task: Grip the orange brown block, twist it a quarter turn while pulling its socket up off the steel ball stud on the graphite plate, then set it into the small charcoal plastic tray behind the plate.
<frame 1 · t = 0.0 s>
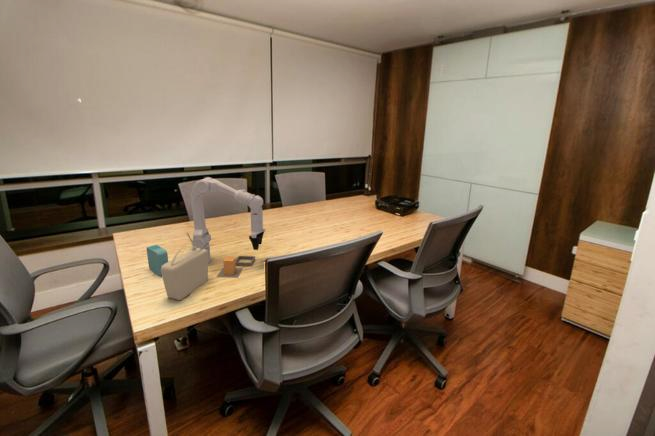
hand: (257, 246, 163), 10 cm above the table, fingers open, 7 cm apart
radio: (187, 289, 140), on the table
data package: (159, 272, 155), on the table
stud plate: (230, 274, 155), on the table
orange brown block: (230, 272, 155), point 1 cm above the table, touching stud plate
tray: (245, 263, 166), on the table
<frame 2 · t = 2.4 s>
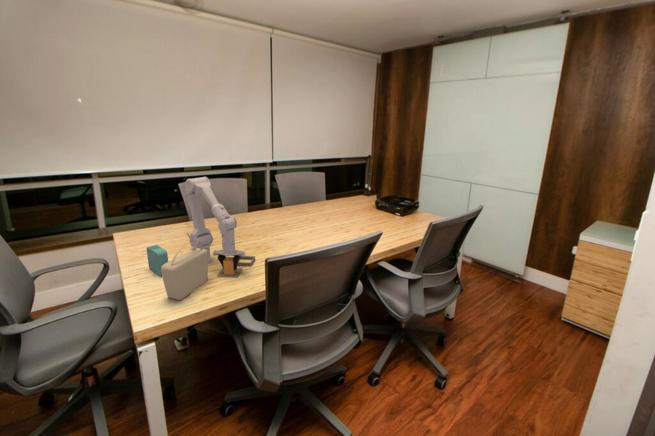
hand: (230, 269, 154), 2 cm above the table, fingers closed on orange brown block, 4 cm apart
orange brown block: (230, 272, 155), point 1 cm above the table, touching gripper, stud plate
everything else where it was.
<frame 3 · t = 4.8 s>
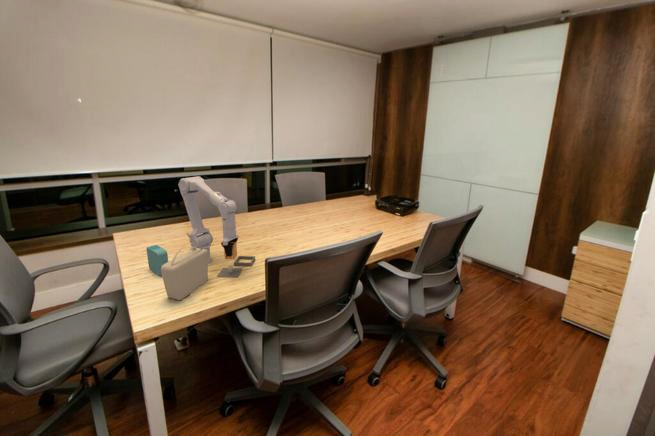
hand: (230, 254, 153), 10 cm above the table, fingers closed on orange brown block, 4 cm apart
orange brown block: (230, 257, 154), point 8 cm above the table, touching gripper
everything else where it was.
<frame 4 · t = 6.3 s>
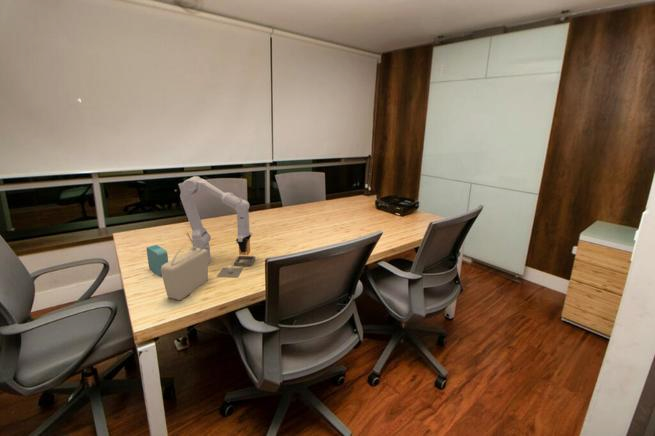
hand: (244, 250, 164), 8 cm above the table, fingers closed on orange brown block, 4 cm apart
orange brown block: (244, 253, 165), point 6 cm above the table, touching gripper
everything else where it was.
when the fingers open (4 cm above the table, at t = 7.6 s): orange brown block drops 1 cm, resting on tray.
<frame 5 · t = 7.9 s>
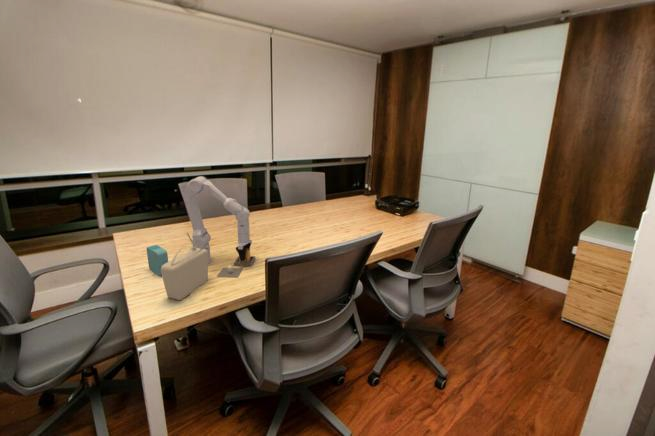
hand: (244, 257, 165), 4 cm above the table, fingers open, 7 cm apart
orange brown block: (245, 263, 166), resting on tray
everything else where it was.
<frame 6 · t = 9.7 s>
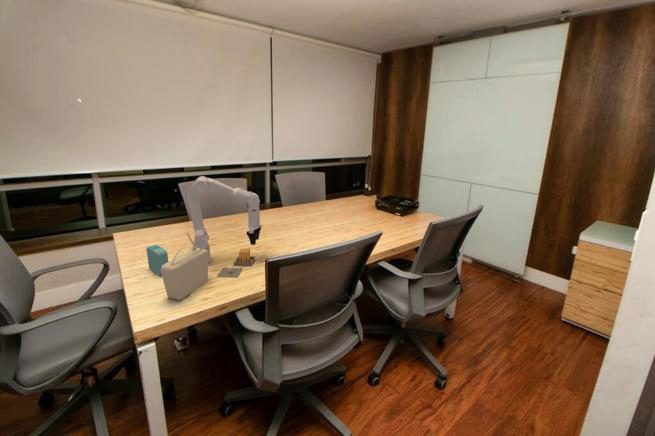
hand: (254, 242, 169), 10 cm above the table, fingers open, 7 cm apart
nothing on the table moved.
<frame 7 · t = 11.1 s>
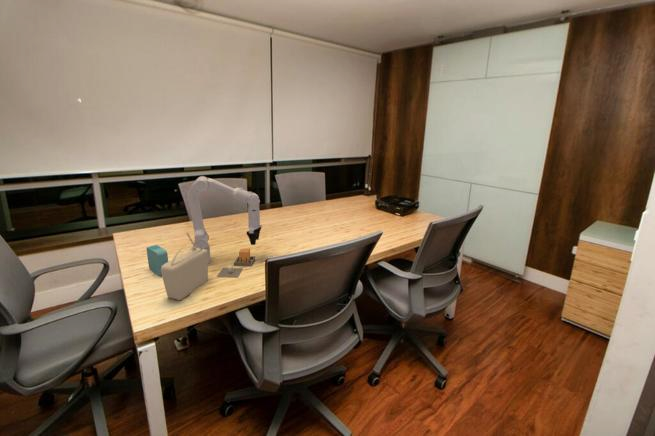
hand: (254, 242, 169), 10 cm above the table, fingers open, 7 cm apart
nothing on the table moved.
at the end: orange brown block 0.1 cm off-centre on the tray, point 0.5 cm above the tray's base; orange brown block tilted 0°; the gripper is holding nothing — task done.
